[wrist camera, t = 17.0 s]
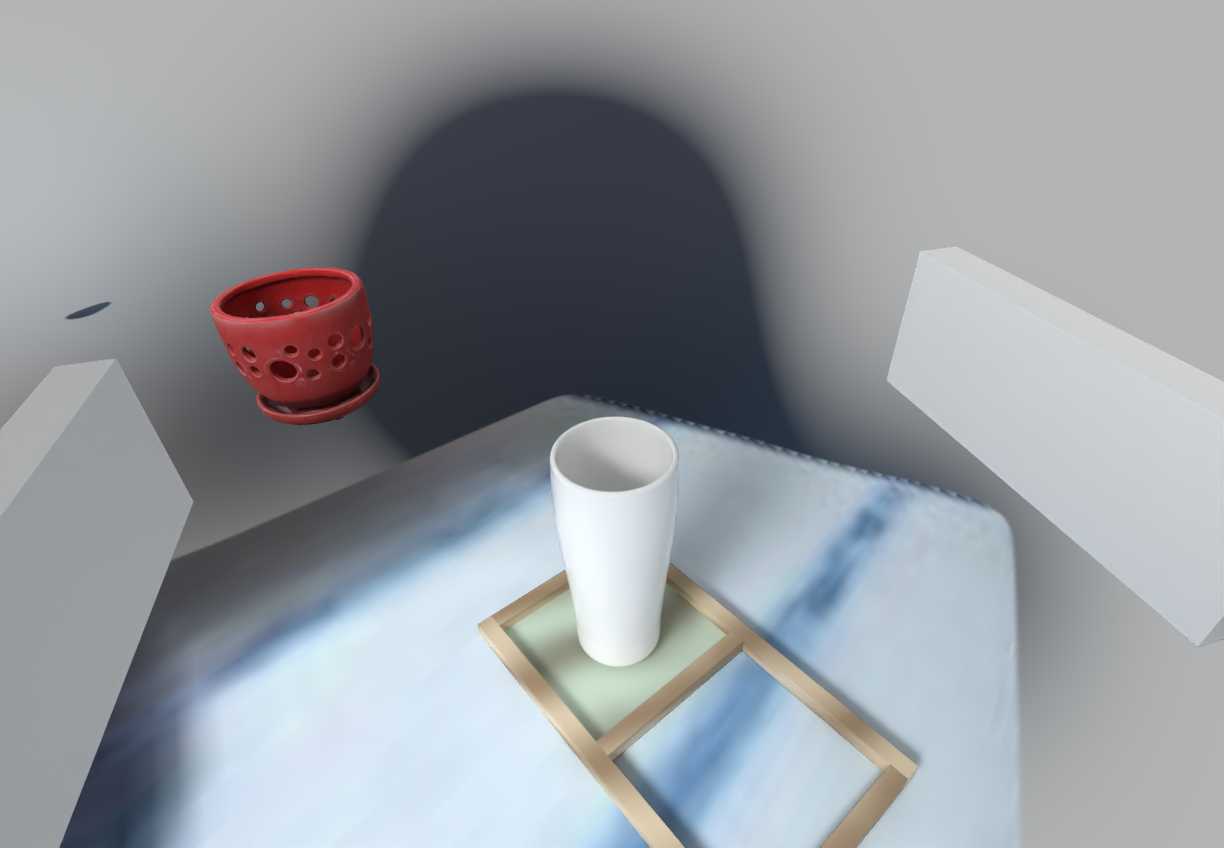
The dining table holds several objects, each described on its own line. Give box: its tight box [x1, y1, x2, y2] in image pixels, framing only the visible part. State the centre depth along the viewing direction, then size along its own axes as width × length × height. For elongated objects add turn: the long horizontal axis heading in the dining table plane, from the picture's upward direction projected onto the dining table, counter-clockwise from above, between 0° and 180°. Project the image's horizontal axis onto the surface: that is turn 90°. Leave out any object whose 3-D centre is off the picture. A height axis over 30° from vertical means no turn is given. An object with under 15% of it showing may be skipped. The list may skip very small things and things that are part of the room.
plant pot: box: [211, 267, 380, 425], centre depth 63 cm, size 13×13×12 cm
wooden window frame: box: [478, 563, 918, 848], centre depth 38 cm, size 23×13×1 cm, turn 40°
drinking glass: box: [550, 417, 679, 667], centre depth 37 cm, size 7×7×15 cm
